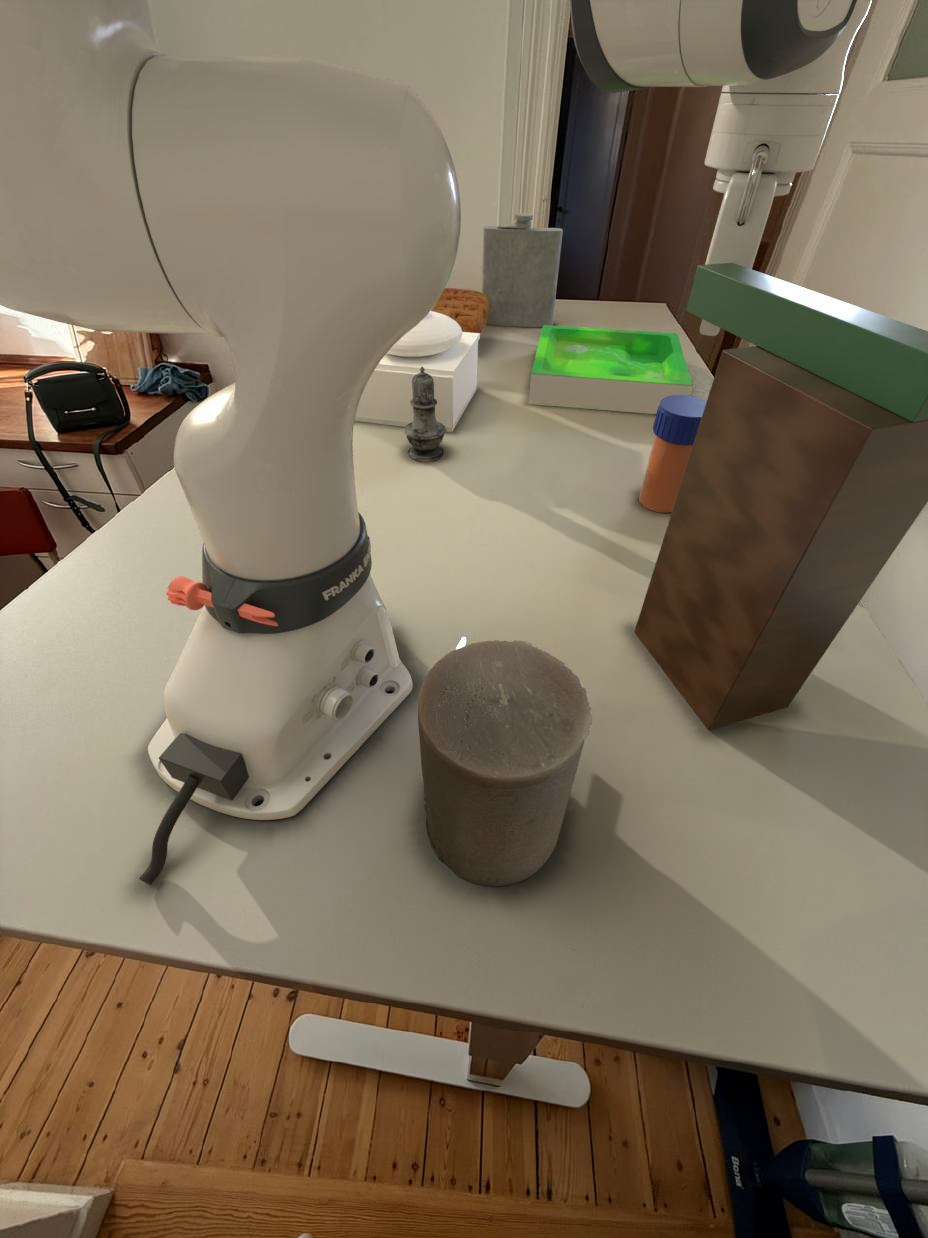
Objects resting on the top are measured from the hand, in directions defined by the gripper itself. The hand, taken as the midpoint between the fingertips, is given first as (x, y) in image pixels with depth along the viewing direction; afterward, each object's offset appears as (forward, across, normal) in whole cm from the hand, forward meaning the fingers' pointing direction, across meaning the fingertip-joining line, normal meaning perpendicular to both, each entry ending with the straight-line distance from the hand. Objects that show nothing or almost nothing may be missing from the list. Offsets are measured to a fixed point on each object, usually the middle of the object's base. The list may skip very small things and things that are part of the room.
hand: (712, 321), depth 56 cm
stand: (+21, -27, -8) cm, 35 cm away
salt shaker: (+21, 0, +33) cm, 39 cm away
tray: (+21, +37, +15) cm, 45 cm away
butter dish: (+21, +15, +42) cm, 49 cm away
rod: (-5, -24, -6) cm, 25 cm away
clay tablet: (+21, +45, +50) cm, 71 cm away
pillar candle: (+21, -48, +5) cm, 53 cm away
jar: (+21, 0, 0) cm, 21 cm away
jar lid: (+12, 0, 0) cm, 12 cm away
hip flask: (+21, +62, +40) cm, 77 cm away
